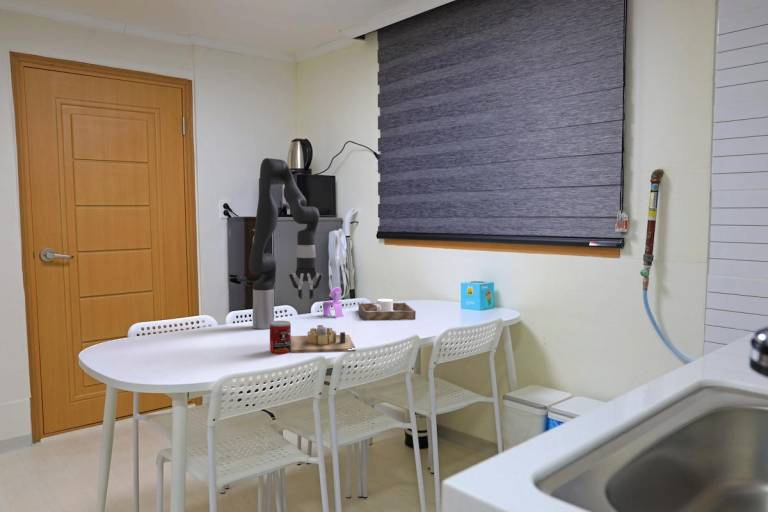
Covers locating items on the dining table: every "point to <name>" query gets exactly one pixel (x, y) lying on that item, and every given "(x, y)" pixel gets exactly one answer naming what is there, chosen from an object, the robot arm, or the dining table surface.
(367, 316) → the walnut frame
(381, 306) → the tree stump
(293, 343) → the jig board
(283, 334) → the canned food
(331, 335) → the gold ring with lever
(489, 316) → the dining table surface
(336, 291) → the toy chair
